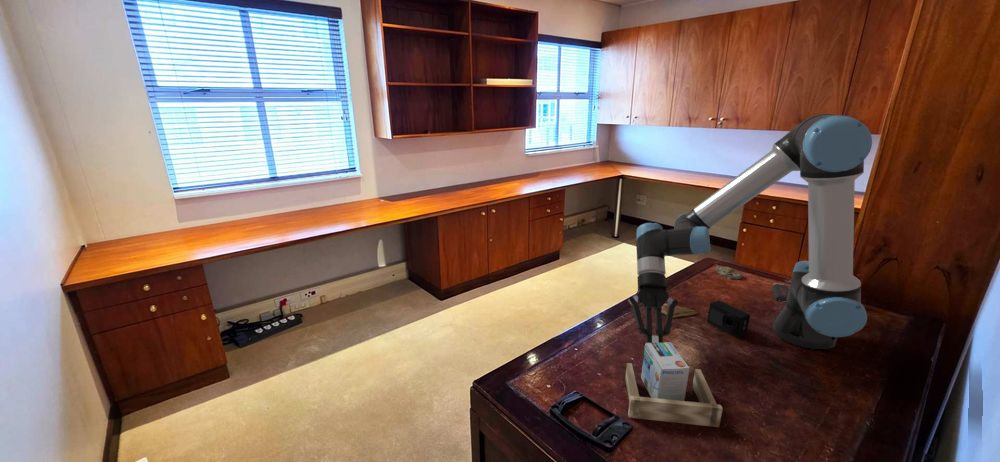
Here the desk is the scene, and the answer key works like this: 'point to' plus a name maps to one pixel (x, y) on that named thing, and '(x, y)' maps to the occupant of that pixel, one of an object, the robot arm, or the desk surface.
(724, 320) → the digital camera
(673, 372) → the light bulb box
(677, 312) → the shard
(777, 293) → the usb drive
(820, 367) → the desk surface
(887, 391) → the desk surface
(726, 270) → the mineral rock
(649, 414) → the rack bay
